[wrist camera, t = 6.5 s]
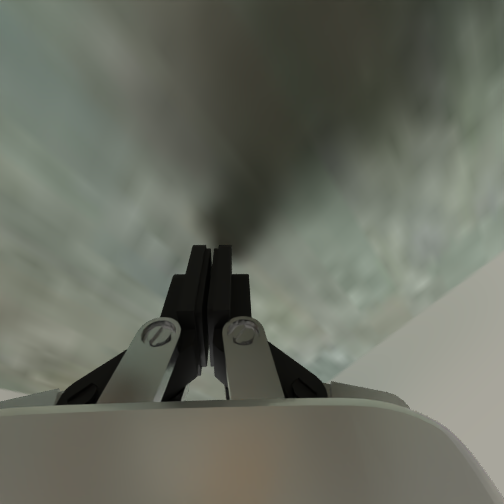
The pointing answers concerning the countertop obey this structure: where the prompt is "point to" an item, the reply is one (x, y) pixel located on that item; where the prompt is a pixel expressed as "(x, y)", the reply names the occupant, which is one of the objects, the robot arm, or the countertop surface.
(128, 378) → the robot arm
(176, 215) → the countertop surface
